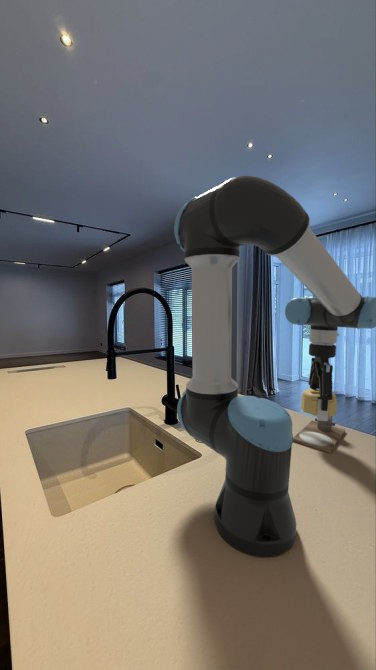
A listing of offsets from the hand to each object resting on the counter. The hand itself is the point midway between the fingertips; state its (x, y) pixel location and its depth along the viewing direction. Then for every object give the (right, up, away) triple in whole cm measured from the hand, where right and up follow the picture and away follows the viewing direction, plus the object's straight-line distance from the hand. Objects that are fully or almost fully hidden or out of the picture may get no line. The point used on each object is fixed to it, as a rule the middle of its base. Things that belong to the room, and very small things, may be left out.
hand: (317, 414), depth 89 cm
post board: (+3, -9, +5) cm, 10 cm away
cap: (0, +1, 0) cm, 1 cm away
